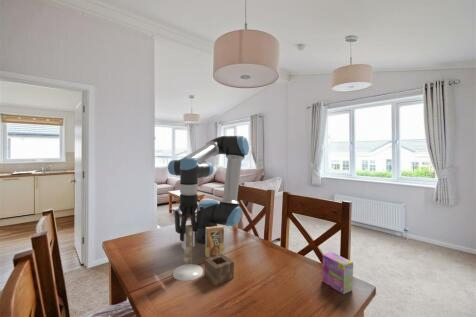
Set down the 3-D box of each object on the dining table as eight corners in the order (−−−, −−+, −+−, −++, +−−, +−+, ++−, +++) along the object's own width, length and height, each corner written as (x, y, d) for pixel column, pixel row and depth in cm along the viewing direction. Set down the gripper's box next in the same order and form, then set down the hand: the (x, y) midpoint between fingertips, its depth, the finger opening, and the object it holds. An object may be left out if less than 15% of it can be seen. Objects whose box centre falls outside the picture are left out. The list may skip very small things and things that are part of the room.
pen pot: (221, 270, 102) (222, 253, 102) (233, 280, 95) (234, 261, 95) (204, 277, 97) (204, 259, 96) (215, 288, 90) (216, 268, 89)
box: (321, 281, 96) (322, 254, 95) (330, 277, 99) (331, 251, 98) (343, 295, 87) (344, 265, 86) (352, 290, 90) (353, 262, 89)
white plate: (194, 263, 108) (194, 261, 108) (208, 276, 98) (208, 273, 98) (168, 272, 100) (168, 269, 100) (180, 287, 90) (180, 284, 90)
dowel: (189, 259, 101) (190, 224, 100) (193, 262, 98) (193, 226, 98) (182, 261, 99) (182, 225, 98) (185, 264, 96) (186, 228, 95)
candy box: (221, 253, 119) (221, 225, 118) (223, 257, 115) (224, 227, 114) (204, 255, 116) (205, 226, 115) (206, 259, 112) (207, 229, 111)
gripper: (201, 190, 105) (200, 239, 106) (167, 194, 95) (166, 248, 96) (209, 192, 99) (208, 244, 100) (174, 197, 89) (173, 255, 90)
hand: (188, 246), depth 98 cm, fingers closed on dowel, 3 cm apart
